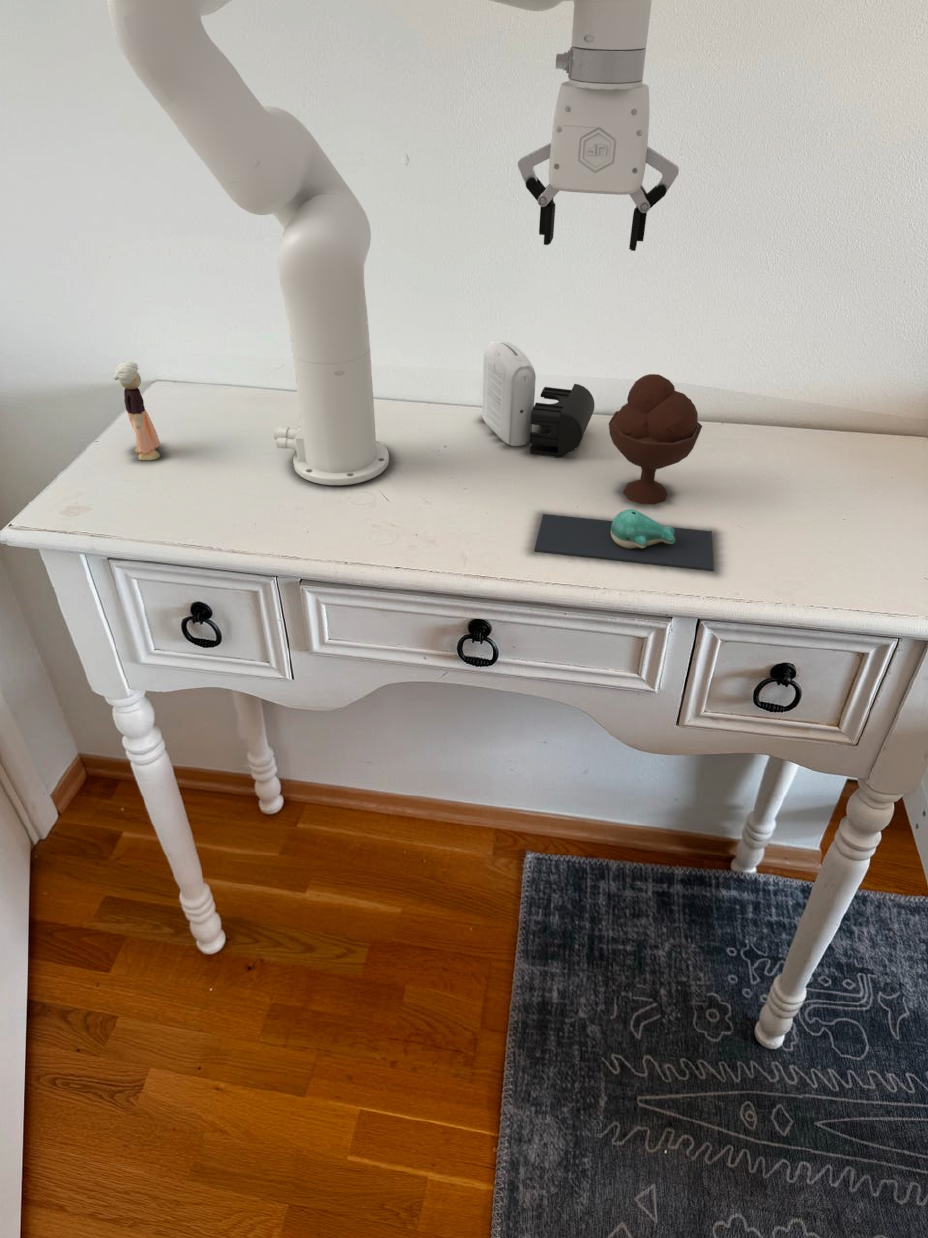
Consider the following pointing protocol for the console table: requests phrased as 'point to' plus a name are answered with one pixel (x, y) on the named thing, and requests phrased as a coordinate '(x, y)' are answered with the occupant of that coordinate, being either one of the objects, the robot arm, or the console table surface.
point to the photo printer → (508, 392)
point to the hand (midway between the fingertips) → (590, 244)
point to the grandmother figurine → (137, 411)
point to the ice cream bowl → (654, 433)
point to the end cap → (561, 421)
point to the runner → (598, 543)
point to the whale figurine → (639, 530)
